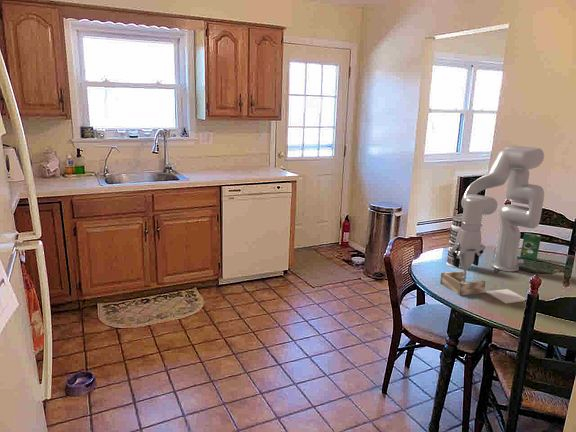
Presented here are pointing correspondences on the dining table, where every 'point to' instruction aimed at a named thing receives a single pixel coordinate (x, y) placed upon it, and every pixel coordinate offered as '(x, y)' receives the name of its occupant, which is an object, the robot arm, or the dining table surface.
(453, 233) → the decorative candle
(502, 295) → the mat
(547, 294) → the dining table surface
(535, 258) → the coffee box
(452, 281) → the cubby
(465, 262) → the chalice
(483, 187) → the robot arm
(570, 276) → the dining table surface
